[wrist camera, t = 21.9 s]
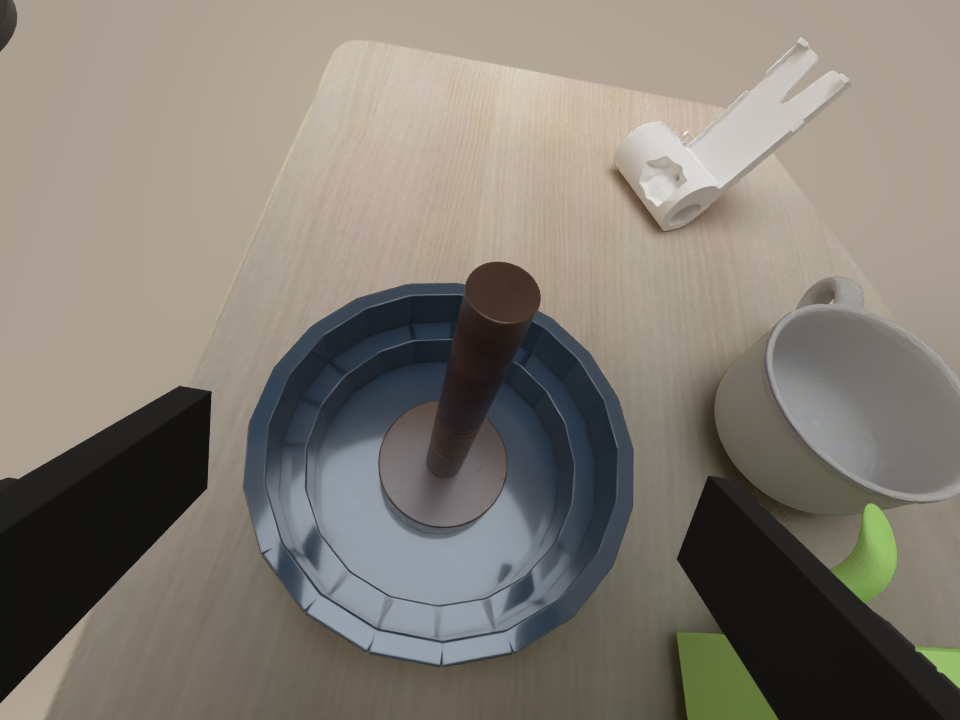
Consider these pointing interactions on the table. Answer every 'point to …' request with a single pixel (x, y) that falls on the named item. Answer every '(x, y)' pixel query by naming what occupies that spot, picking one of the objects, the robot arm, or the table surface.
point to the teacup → (842, 410)
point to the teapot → (723, 677)
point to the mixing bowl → (410, 552)
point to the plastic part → (723, 141)
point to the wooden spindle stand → (461, 411)
